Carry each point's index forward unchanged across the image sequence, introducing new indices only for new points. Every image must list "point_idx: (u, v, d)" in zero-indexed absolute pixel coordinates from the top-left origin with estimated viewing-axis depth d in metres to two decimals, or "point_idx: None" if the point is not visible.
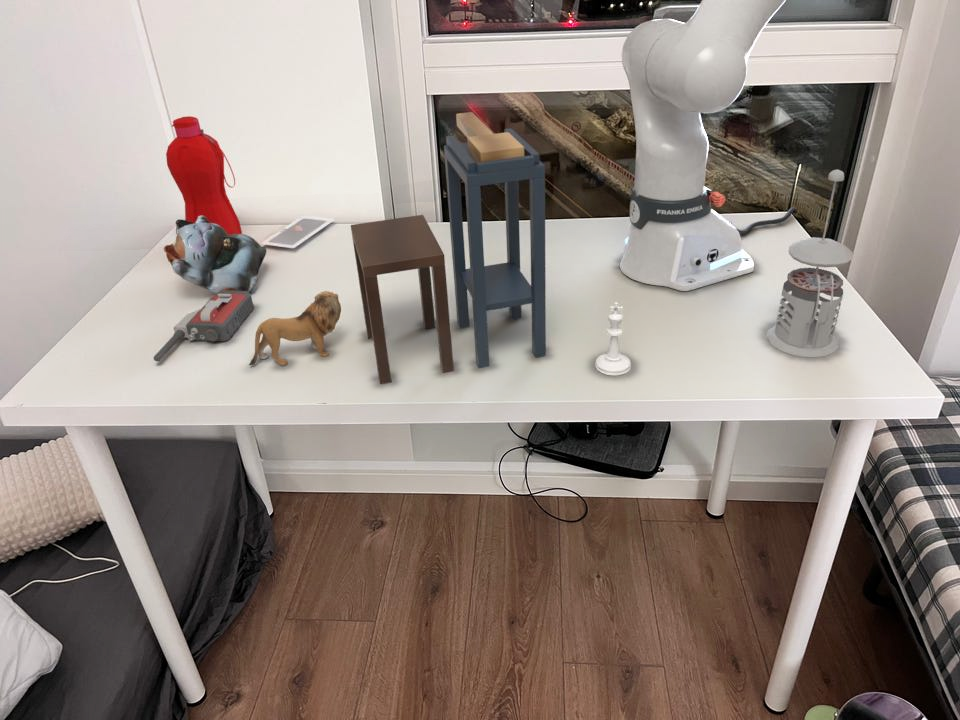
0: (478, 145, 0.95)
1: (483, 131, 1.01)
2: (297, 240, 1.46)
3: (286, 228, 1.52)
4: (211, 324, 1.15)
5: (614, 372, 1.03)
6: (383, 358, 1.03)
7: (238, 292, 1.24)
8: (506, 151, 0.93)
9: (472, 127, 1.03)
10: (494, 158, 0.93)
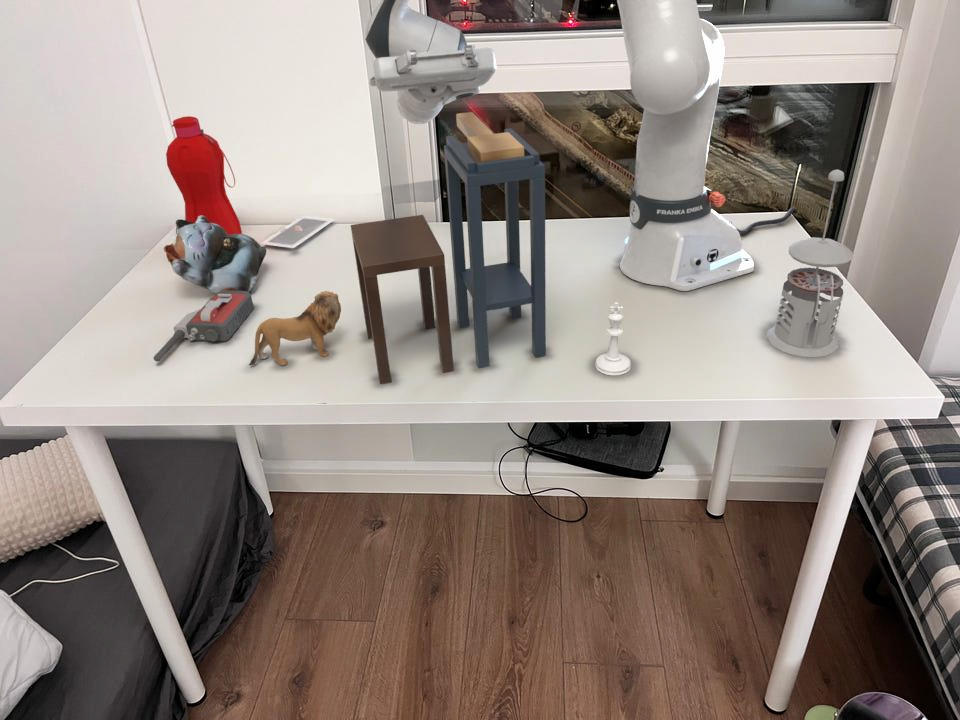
0: (478, 145, 0.95)
1: (483, 131, 1.01)
2: (297, 240, 1.46)
3: (286, 228, 1.52)
4: (211, 324, 1.15)
5: (614, 372, 1.03)
6: (383, 358, 1.03)
7: (238, 292, 1.24)
8: (506, 151, 0.93)
9: (472, 127, 1.03)
10: (494, 158, 0.93)
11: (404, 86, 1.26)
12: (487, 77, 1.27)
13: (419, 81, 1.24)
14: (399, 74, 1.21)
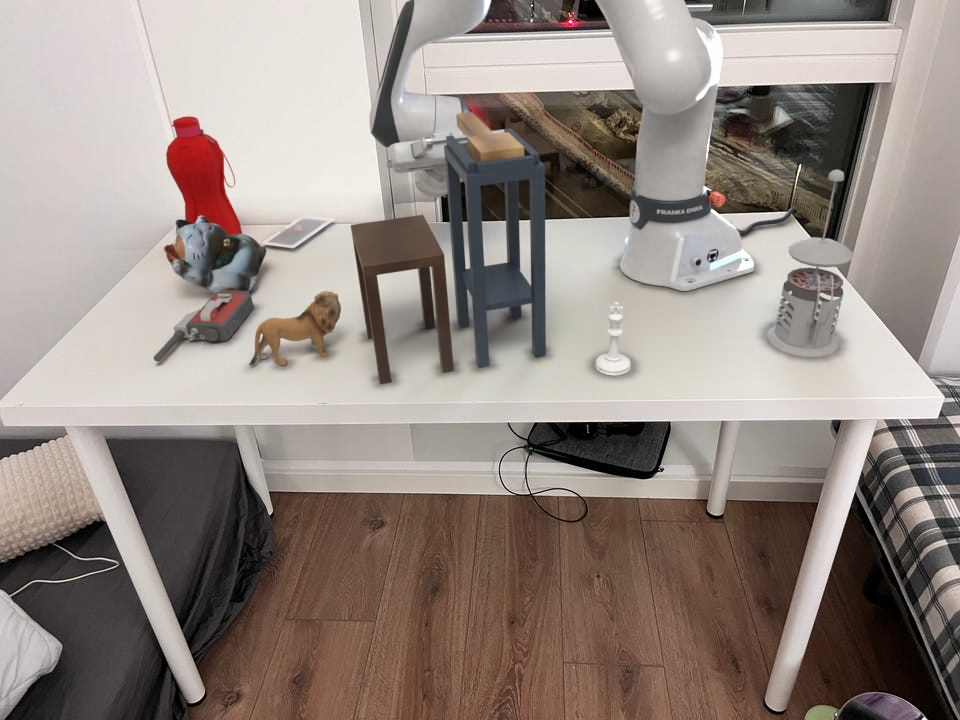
0: (478, 145, 0.95)
1: (483, 131, 1.01)
2: (297, 240, 1.46)
3: (286, 228, 1.52)
4: (211, 324, 1.15)
5: (614, 372, 1.03)
6: (383, 358, 1.03)
7: (238, 292, 1.24)
8: (506, 151, 0.93)
9: (472, 127, 1.03)
10: (494, 158, 0.93)
11: (420, 167, 1.27)
12: None
13: (435, 163, 1.25)
14: (415, 158, 1.22)
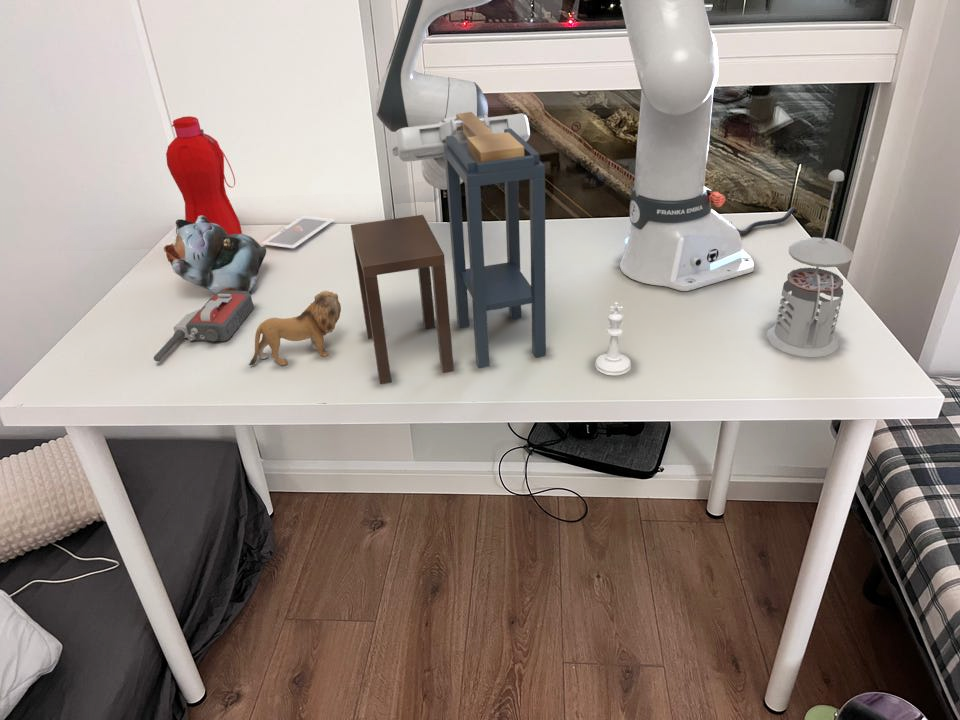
0: (478, 145, 0.95)
1: (483, 131, 1.01)
2: (297, 240, 1.46)
3: (286, 228, 1.52)
4: (211, 324, 1.15)
5: (614, 372, 1.03)
6: (383, 358, 1.03)
7: (238, 292, 1.24)
8: (506, 151, 0.93)
9: (472, 127, 1.03)
10: (494, 158, 0.93)
11: (429, 155, 1.16)
12: None
13: None
14: (424, 145, 1.10)
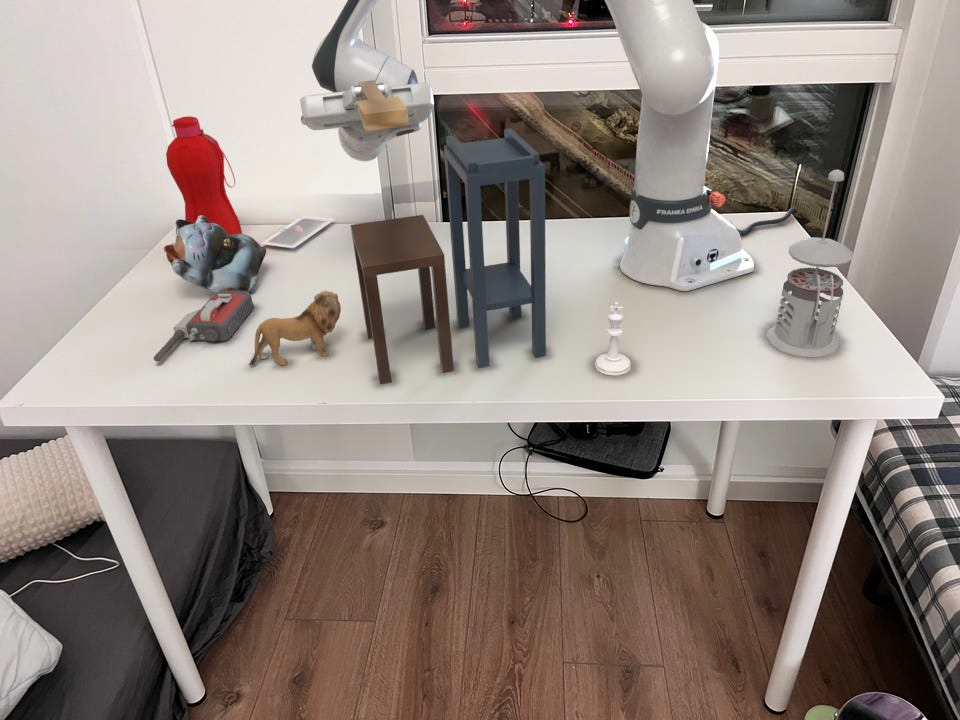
0: (364, 107, 0.97)
1: (376, 96, 1.04)
2: (297, 240, 1.46)
3: (286, 228, 1.52)
4: (211, 324, 1.15)
5: (614, 372, 1.03)
6: (383, 358, 1.03)
7: (238, 292, 1.24)
8: (389, 113, 0.96)
9: (368, 93, 1.06)
10: (377, 119, 0.96)
11: (337, 124, 1.19)
12: (426, 113, 1.19)
13: (351, 119, 1.17)
14: (327, 112, 1.13)
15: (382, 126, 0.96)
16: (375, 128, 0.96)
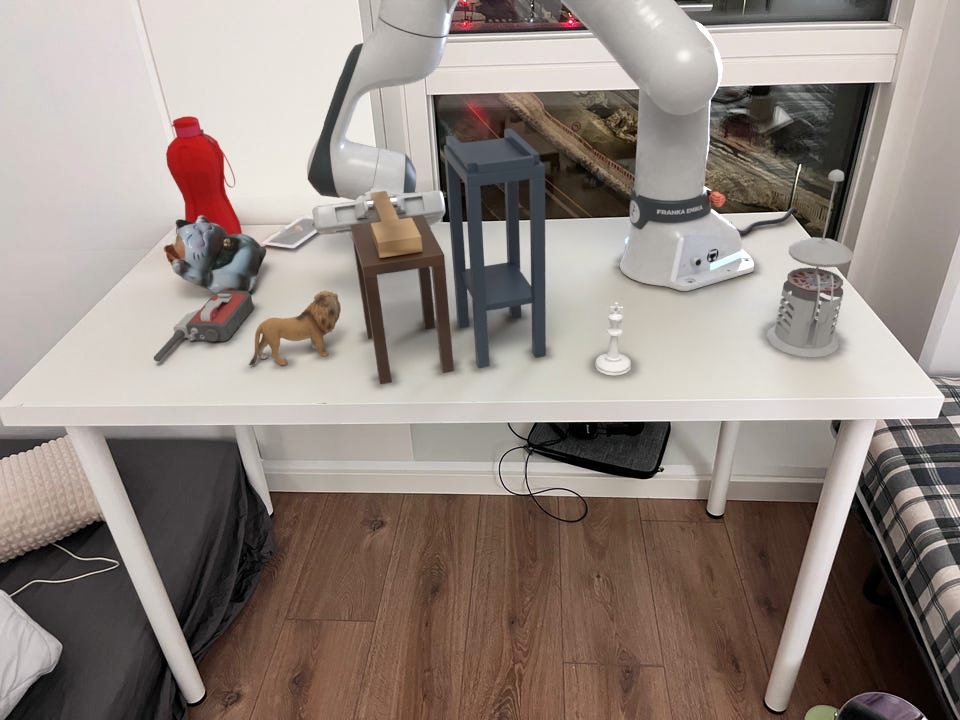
0: (378, 233, 0.98)
1: (389, 214, 1.04)
2: (297, 240, 1.46)
3: (286, 228, 1.52)
4: (211, 324, 1.15)
5: (614, 372, 1.03)
6: (383, 358, 1.03)
7: (238, 292, 1.24)
8: (403, 241, 0.96)
9: (380, 210, 1.06)
10: (391, 247, 0.96)
11: (348, 229, 1.19)
12: (437, 218, 1.20)
13: None
14: (339, 223, 1.13)
15: (396, 253, 0.97)
16: (389, 255, 0.96)
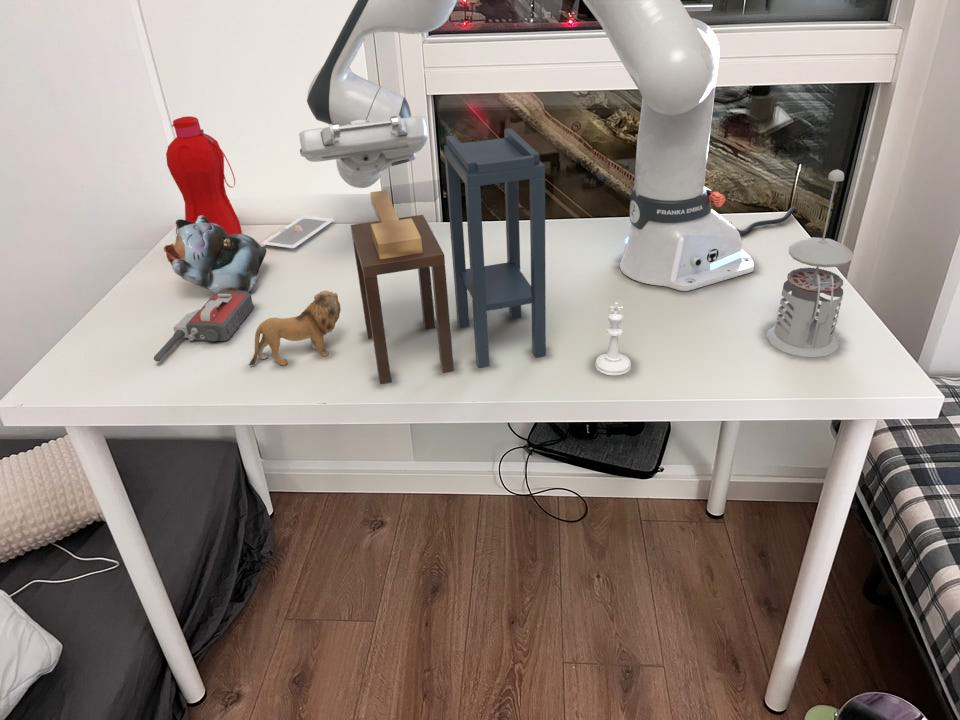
0: (378, 235, 0.98)
1: (389, 215, 1.04)
2: (297, 240, 1.46)
3: (286, 228, 1.52)
4: (211, 324, 1.15)
5: (614, 372, 1.03)
6: (383, 358, 1.03)
7: (238, 292, 1.24)
8: (403, 242, 0.96)
9: (380, 210, 1.06)
10: (391, 248, 0.96)
11: (335, 156, 1.24)
12: (420, 145, 1.24)
13: (348, 151, 1.21)
14: (325, 146, 1.18)
15: (396, 254, 0.97)
16: (389, 256, 0.97)
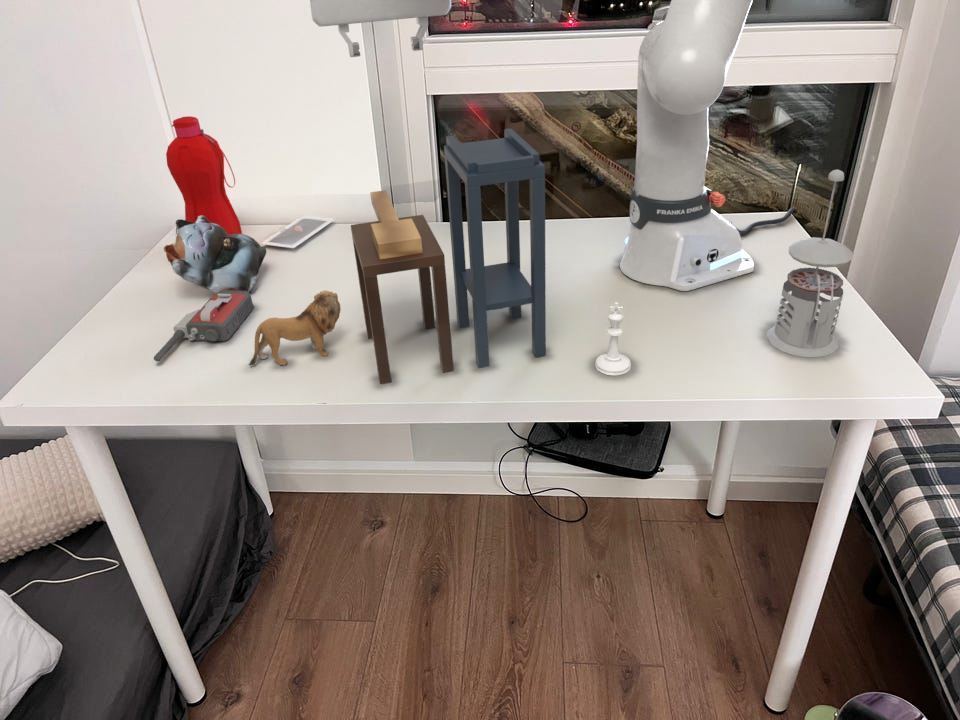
0: (378, 235, 0.98)
1: (389, 215, 1.04)
2: (297, 240, 1.46)
3: (286, 228, 1.52)
4: (211, 324, 1.15)
5: (614, 372, 1.03)
6: (383, 358, 1.03)
7: (238, 292, 1.24)
8: (403, 242, 0.96)
9: (380, 210, 1.06)
10: (391, 248, 0.96)
11: None
12: None
13: None
14: None
15: (396, 254, 0.97)
16: (389, 256, 0.97)
